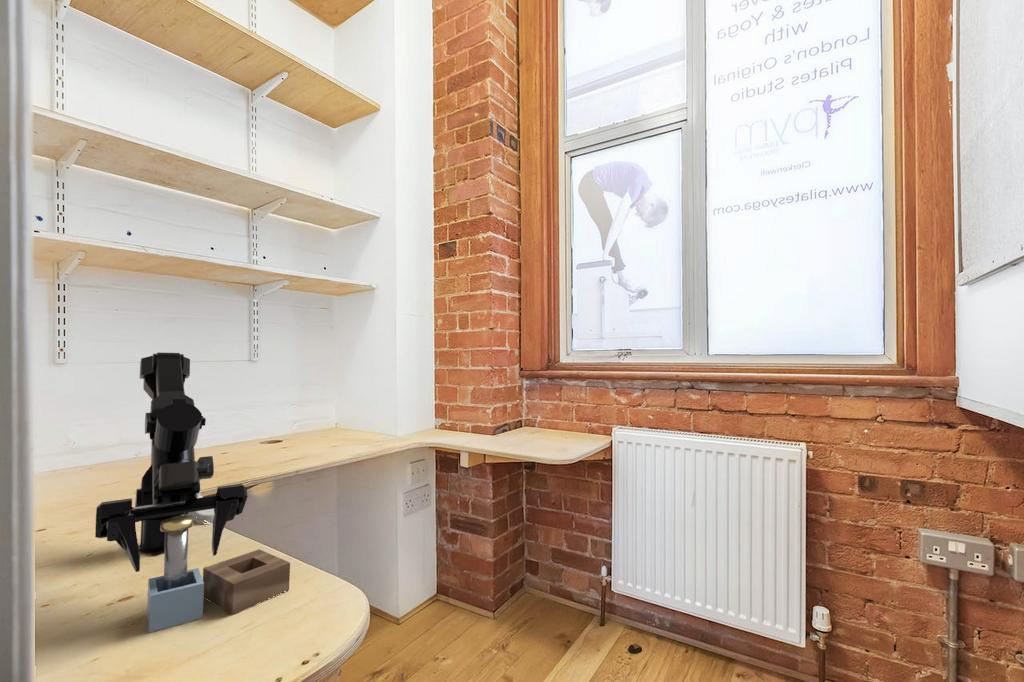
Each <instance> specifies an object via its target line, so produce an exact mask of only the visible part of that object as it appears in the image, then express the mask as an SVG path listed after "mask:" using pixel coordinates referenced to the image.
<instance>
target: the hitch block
mask: <svg viewBox="0 0 1024 682" xmlns="http://www.w3.org/2000/svg"><path fill="white" fill-rule="evenodd" d="M290 574H291V562H289V561H288V560H285V559H283V558H281V557H278V556H276V555H274V554H271V553H269V552H267V551H265V550H262V549H259V548H258V549H256V550H253V551H250V552H247V553H244V554H241V555H238V556H235V557H232V558H230V559H226V560H222V561H220V562H217V563H214V564H211V565H209V566H205V567H203V570H202V579H203V582H204V596H203V597H204V598H203V599H205V598H206V599H205V600H207V599H208V600H210V601H211V602H210V601H209V602H210V603H212V604H213V603H214V605H215V604H216V605H215V606H217V607H218V606H219V607H218V608H220V609H222V610H223V609H224V611H225V612H226V613H229V614H230V615H232V616H233V615H235V613H236V614H238V613H241V612H243V611H245V610H247V609H249V607H250V608H252V607H254V606H257V605H258V604H257V603H259V602H261V603H263V602H265V601H264V600H266V601H268V600H269V599H268V598H270V599H272V598H271V597H273V596H275V597H277V596H279V595H278V594H280V593H282V592H284V591H287V590H289V591H290V576H291V575H290ZM287 592H288V591H287ZM284 593H285V592H284ZM282 594H283V593H282ZM276 595H277V596H276ZM280 595H281V594H280ZM273 598H274V597H273ZM267 599H268V600H267ZM208 600H207V601H208ZM262 601H263V602H262ZM256 604H257V605H256ZM259 604H260V603H259ZM251 606H252V607H251Z"/></svg>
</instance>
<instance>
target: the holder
mask: <svg viewBox="0 0 1024 682" xmlns="http://www.w3.org/2000/svg"><path fill="white" fill-rule="evenodd" d="M147 582H148V583H147V603H146V618H147V619H146V620H147V626H148V633H149V634H150V633H154V632H157V631H161V630H165V629H168V628H171V627H176V626H179V625H183V624H186V623H187V624H188V623H190V622H193V621H197V620H201V619H203V615H204V613H203V612H204V598H203V596H204V582H203V575H201V572H200V568H199V567H197V568H192V569H187V585H185V586H181V587H177V588H173V589H169V590H164V591H163V586H164V575H160V576H156V577H150V578H148V581H147Z"/></svg>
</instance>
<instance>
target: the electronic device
mask: <svg viewBox="0 0 1024 682" xmlns="http://www.w3.org/2000/svg"><path fill="white" fill-rule="evenodd" d="M201 480H202V479H201ZM201 480H200V493H197V498H203V497H204V496H203V495H201V490H202V489H201V488H202V482H201ZM185 516H192V517H193V518H194V519H193V522H195V523H197V524H199V525H205V524H204V523H207V522H205V521H204V520H206V521H208V522H210V523H212V525H213V519H214V509H208V510H201V511H195V512H189V513H188V514H186V515H185ZM196 517H197V518H196ZM203 522H204V523H203Z"/></svg>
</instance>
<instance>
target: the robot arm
mask: <svg viewBox="0 0 1024 682" xmlns="http://www.w3.org/2000/svg"><path fill="white" fill-rule="evenodd" d="M190 375H191V359H190V358H188V357H185V355H184V354H183V353H180V352H156V353H153V354H152V355H150V356H146V357H142V358H140V363H139V379H140V380H143V386H142V387H143V391H144V392H145V393H146V394H147V396H149V398H150V399H151V401H150V412H146V413H145V417H144V418H145V419H144V434H145V435H146V434H147V435H148V434H149V439H150V440H151V444H150V445H151V447H150V448H151V449H150V450H151V451H150V466H149V467H148V469H147V470H146V471H145V473H144V475H142V477H141V482H140V488H136V490H135V500H134V506H133V499H132V497H131V498H124V499H117V500H108V501H101V503H100V504H99V505H97V506H96V511H95V512H96V514H95V531H94V532H95V535H94V537H95V538H97V539H104V538H106V541H107V542H116V543H117V544H118V545H119V547H120V548H121V549H122V550H123V551H124V553H125V554H126V556H127V559H128V560H129V562H130V564H131V565H132V568H133V570H134V571H135V573H137V572H139V573H140V570H141V569H140V568H141V556H140V555H141V554H140V553H143V554H146V555H147V554H148V555H153V556H157V555H161V554H163V553H165V532H162V531H160V523H161V521H163V520H165V519H168V518H171V517H177V516H187V515H186V514H188V513H189V512H195V511H201V510H208V509H214V519H213V524H212V531H211V532H212V537H211V538H212V539H211V551H212V556H217V554H218V551H219V545H220V542H221V539H222V534H223V531H224V529H225V527H226V524H227V522H228V521H229V522H230V521H233V520H234V519H235V516H238V515H240V514H242V513H243V512H244V511H243V510H244V509H245V505H246V502H247V499H248V491H247V487H246V486H245V485H244V484H242V483H237V484H229V485H222V486H217V489H216V492H215V495H211V496H205V497H204V496H203V498H197V493H200V494H201V491H200V483H201V482H200V480H205V479H206V480H207V479H212V477H213V476H214V473H215V470H214V469H215V466H214V465H215V464H214V457H213V455H208V456H207V455H206V456H200V457H199V458H198V459H197V460H196V459H195V458H196V457H195V455H196V454H195V446H196V444H197V442H198V437H199V433H200V430H202V428H203V426H206V420H207V419H206V417H204V416H203V414H202V412H201V411H200V409H199V408H198V407H196V406H195V402H194V401H195V400H194V399H193V398H192V397H190V396H188V395H186V393H185V382H186V379H189V377H190ZM139 522H140V523H141V525H140V544H139V542H138V541H139V540H138V535H137V528H136V523H139Z"/></svg>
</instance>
